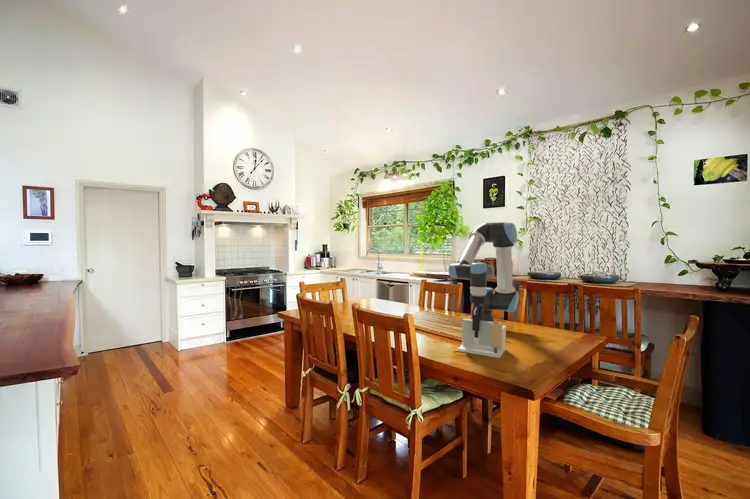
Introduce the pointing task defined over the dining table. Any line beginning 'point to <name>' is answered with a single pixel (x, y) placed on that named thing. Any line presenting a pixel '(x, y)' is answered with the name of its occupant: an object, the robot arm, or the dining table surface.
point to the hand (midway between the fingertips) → (477, 342)
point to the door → (484, 333)
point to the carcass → (484, 347)
